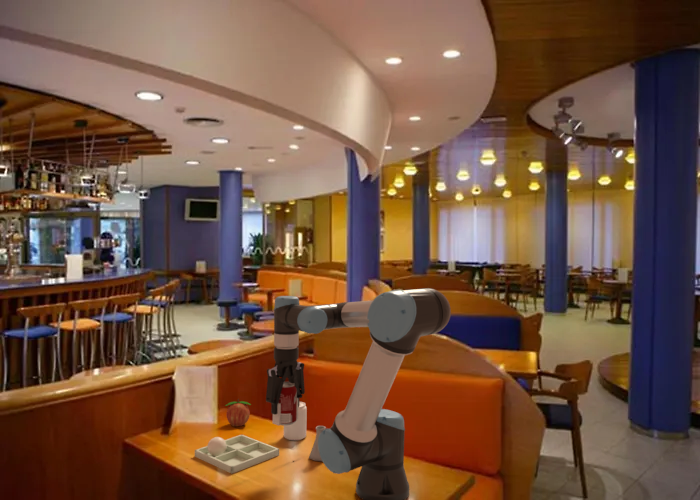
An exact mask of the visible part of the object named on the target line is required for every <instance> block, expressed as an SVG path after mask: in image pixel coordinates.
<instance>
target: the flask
mask: <svg viewBox="0 0 700 500" xmlns="http://www.w3.org/2000/svg"><path fill="white" fill-rule="evenodd" d="M325 429H327V427H326V426H324V425H317V426H316V427H315V430H316V431H315V432H316V434H315V439H314V443H313V446H312V447H311V450H310V454H309V455H308V459H310V460H312V461H315V462H323V461H322V459H321V457H320V453H319V450H318V437H319V435H320V433H321V432H322V431H323V430H325Z"/></svg>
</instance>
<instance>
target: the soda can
mask: <svg viewBox="0 0 700 500" xmlns="http://www.w3.org/2000/svg"><path fill="white" fill-rule="evenodd" d="M279 403H281V423H280V425H279V426H284V425H291V424H293V423H295V422H296V420H297V389H296V387H295V383H290V382H289V381H285V382H284V383H283V387H282V391H281V395H280V399H279Z"/></svg>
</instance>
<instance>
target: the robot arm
mask: <svg viewBox="0 0 700 500" xmlns="http://www.w3.org/2000/svg"><path fill="white" fill-rule="evenodd" d="M451 311H452V310H451V306H450V302H449V300H448V299H447V297H446V296H445V295H444V294H443V293H442V292H441V291H439V290H437V289H434V288H429V287H427V288H425V287H424V288H417V289H416V288H415V289H405V290H403V289H393V290H389V291H385V292H383V293H380V294H378V295H377V296H376V297H375V298H374V299H373V300H363V301H360V300H359V301H349V302H348V301H347V302H345V301H344V302H337V303H329V304H328V303H325V304H316V305H314V304H313V305H301V304H300V298H299V297H297V296H295V295H294V296H293V295H279V296H277V297H275V298H274V308H273V329H274V331H273V332H274V333H273V346H274V348H273V360H274V362H275V363H274V366H273V367H272V368H267V369H266V374H267V383H266V394H265V402H266V403H269V404H271V405H270V406H271V409H270V412H271V415H272V424H274V425H276V426H281V425H280V423H281V403H279V399H280V395H281V391H282V387H283V383H284V382H286V379H287V380H288V382H290V383H295V387H296V389H297V419H298V407H299V402H301V401H300V399H302V398H303V395H305V392H306V391H305V389H306V388H305V374H304V370H305V363H304V362H300V361H298V359H299V353H300V352H299V349H300V348H299V344H300V341H299V338H300V337H299V336H300V335H299V333H300V332H303V333H306V334H319V333H321V332H323V331H325V330H333V329H343V328H346V329H347V328H368V329H369V336H370V337H369V338H371V340H372V342H371V346H370V347H369V350H368V352H367V355H366V358H364V362H363V365H362V367H361V369H360V372H359V375H358V376H357V377H358V378H357V380H356V382H355V383H354V384H355V385H354V387H353V389H352V392H351V395H350V396H349V399H348V402H347V403H346V404H347V405H346V407H345V409H344V410H341V411H339V412H338V413H336V414H337V415H336V416H335V419H334V421H333V424H332V426H331V427H329V428H328V427H326V428H325V430H323V431H322V432H321V433H320V435H319V437H318V450H319V453H320V457H321V459H322V461H321V462H323V464H324V466H325V467H326V468H327V470H329V471H330V472H332V473H333V474H337V475H338V474H340V475H341V474H343V473H349V472H351V471H353V470H356V469H358V468H359V469H360V471H359V474H358V477H357V480H356V484H355V492H356V495H357V496H358V497H359V498H360V499H361V500H406V499H408V498H409V495H410V484H409V481H408V477H407V473H406V469H405V465H404V462H405V461H404V457H405V455H404V454H405V431H406V428H405V420H404V416H403V415H402V414H401V413H399V412H396V411H393V410H390V409H387V408H386V409H385V408H383V406H384V405H385V403H386V399H387V397H388V395H389V392H390V390H391V389H392V386H393V384H394V381H395V379H396V377H397V374H398V372H399V370H400V368H401V366H402V364H403V361H404V358H405V356H408V355H411V354H413V352H415V349H416V346H417V344H418V342H419V340H420V338H421V337H424V336H431V335H434V334H437V333H439V332H441V331H442V330H443V329H444V328H445V327H446V326H447V325H448V323H449V321H450V319H451V316H452V314H451V313H452V312H451ZM299 331H300V332H299Z"/></svg>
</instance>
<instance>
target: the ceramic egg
mask: <svg viewBox="0 0 700 500" xmlns="http://www.w3.org/2000/svg"><path fill="white" fill-rule="evenodd" d="M225 440H226V439H224V438H223V437H220V436H215V437H212V438H211V439H210V440H209V441H208V443H207V445H206V446H207V449H208V452H209V454H210V455H212V456H214V457H216V456H219V455H222V454H223V453H224V452H225V450H226V442H225Z"/></svg>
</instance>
